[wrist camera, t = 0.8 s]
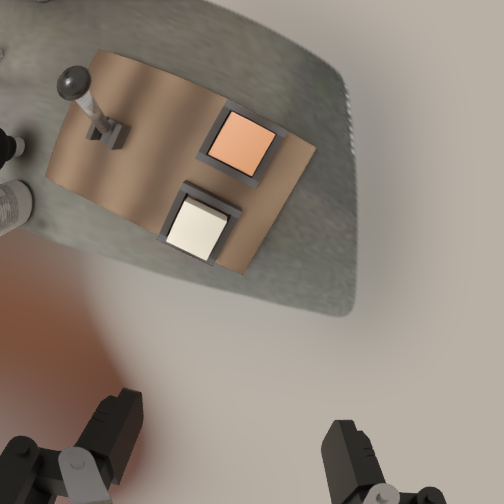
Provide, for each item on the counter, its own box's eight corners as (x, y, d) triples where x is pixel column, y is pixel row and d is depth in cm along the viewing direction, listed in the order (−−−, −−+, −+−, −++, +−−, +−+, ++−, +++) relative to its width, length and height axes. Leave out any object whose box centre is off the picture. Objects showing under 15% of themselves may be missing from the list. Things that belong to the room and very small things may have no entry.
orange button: (210, 153, 24) (208, 154, 22) (232, 114, 23) (232, 111, 21) (250, 173, 25) (251, 176, 23) (272, 135, 24) (275, 134, 22)
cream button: (170, 234, 27) (165, 241, 25) (188, 196, 26) (184, 201, 24) (208, 252, 28) (206, 260, 26) (227, 216, 26) (226, 221, 25)
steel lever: (89, 136, 22) (44, 86, 12) (102, 114, 22) (67, 55, 12) (109, 145, 22) (70, 95, 12) (122, 122, 22) (93, 63, 12)
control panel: (58, 173, 28) (31, 180, 23) (109, 55, 23) (88, 42, 18) (241, 263, 33) (243, 286, 28) (308, 147, 29) (324, 148, 24)
